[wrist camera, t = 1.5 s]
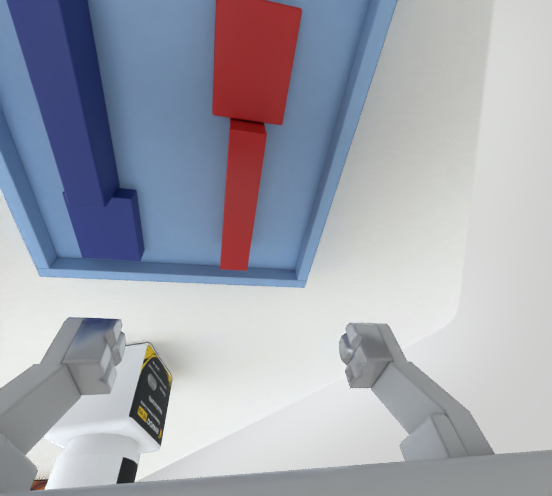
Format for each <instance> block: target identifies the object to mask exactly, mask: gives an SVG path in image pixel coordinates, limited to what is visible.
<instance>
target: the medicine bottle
mask: <svg viewBox="0 0 552 496" xmlns="http://www.w3.org/2000/svg"><path fill="white" fill-rule="evenodd" d="M115 368H116V372H117V376H116V379H115V382H114V385H113V388H112V391H111V394H98V395H81V398H80V399H79V400H78V401H77V402H76V403H75V404H74V405H73V406H72V407H71V408H70V409H69V410H68V411H67V412H66V413H65V414H64V415H63V416H62V417H61V419H60V420H59V421H58V422H57V423H56V424H55V425H54V426H53V427H52V428H51V429H50V430H49V431H48V432H47V433H46V434H45V435H44V436H43V438H45V439H47V440H49V441H50V442H52V443H54V444H55V445H57V446H59V447H60V448H62V449H64V450H62V451H61V452H60V453H59V455H58V457H57V460H56V462H55V465H54V467H53V470H52V472H51V475H50V477H49V480H48V482H47V485H46V487H45V490H47V489H60V488H72V487H85V486H98V485H111V484H123V483H134V481H135V477H136V472H137V467H138V463H139V458H140V454H141V453H147V452H154V451H158V450H159V449H160V447H161V441H162V436H163V430H164V424H165V419H166V413H167V407H168V401H169V396H170V390H171V384H172V376H171V375H170V373H169V372H168V370H167V369H166V367H165V366H164V364H163V363H162V361H161V360H160V358H159V356H158V355H157V353H156V352H155V350H154V349H153V347H152V346H151V345H150V344H149V343H144V344H137V345H130V346H125V351H124V355H123V358H122V361H121V362H120V363H119V364H118V365H117V366H116V367H115Z"/></svg>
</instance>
